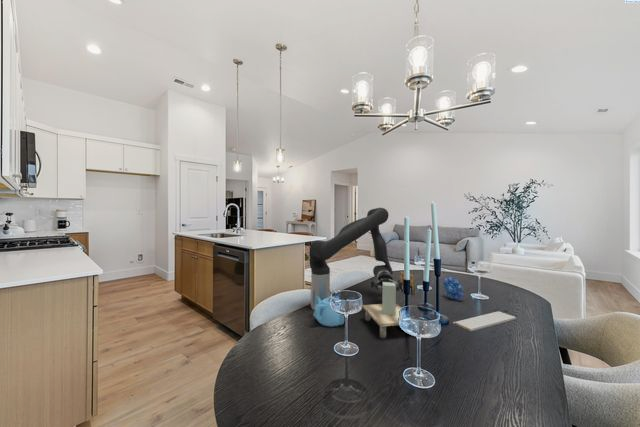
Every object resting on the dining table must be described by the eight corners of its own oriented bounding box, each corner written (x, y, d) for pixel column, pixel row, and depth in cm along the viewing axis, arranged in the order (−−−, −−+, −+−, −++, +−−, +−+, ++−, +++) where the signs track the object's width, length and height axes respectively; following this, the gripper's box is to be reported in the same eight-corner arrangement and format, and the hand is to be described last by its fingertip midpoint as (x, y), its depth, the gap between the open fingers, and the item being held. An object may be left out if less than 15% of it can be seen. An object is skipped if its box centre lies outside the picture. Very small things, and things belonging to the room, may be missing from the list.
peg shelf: (380, 339, 101) (380, 324, 101) (362, 318, 121) (362, 305, 121) (419, 336, 104) (419, 320, 104) (395, 316, 124) (395, 303, 124)
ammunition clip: (399, 290, 164) (399, 270, 164) (401, 289, 165) (401, 270, 165) (412, 295, 154) (412, 274, 154) (414, 294, 155) (414, 274, 155)
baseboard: (449, 323, 118) (470, 332, 109) (449, 316, 118) (471, 326, 109) (493, 312, 130) (516, 320, 121) (493, 306, 130) (516, 314, 121)
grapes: (438, 297, 150) (438, 276, 150) (445, 295, 154) (445, 274, 154) (458, 303, 140) (459, 280, 140) (465, 301, 144) (465, 279, 144)
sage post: (383, 314, 110) (383, 285, 110) (382, 309, 115) (382, 282, 115) (395, 315, 110) (395, 286, 109) (394, 310, 114) (394, 282, 114)
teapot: (315, 313, 127) (315, 291, 126) (347, 314, 126) (347, 291, 126) (313, 328, 111) (313, 302, 111) (349, 329, 110) (349, 303, 110)
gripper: (370, 270, 137) (371, 279, 121) (399, 272, 134) (403, 280, 118) (370, 285, 137) (370, 295, 121) (399, 287, 134) (403, 297, 118)
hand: (387, 288), depth 120 cm, fingers open, 8 cm apart
